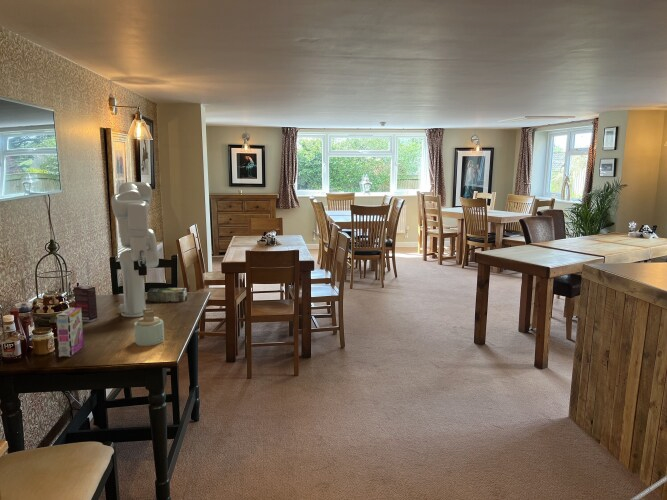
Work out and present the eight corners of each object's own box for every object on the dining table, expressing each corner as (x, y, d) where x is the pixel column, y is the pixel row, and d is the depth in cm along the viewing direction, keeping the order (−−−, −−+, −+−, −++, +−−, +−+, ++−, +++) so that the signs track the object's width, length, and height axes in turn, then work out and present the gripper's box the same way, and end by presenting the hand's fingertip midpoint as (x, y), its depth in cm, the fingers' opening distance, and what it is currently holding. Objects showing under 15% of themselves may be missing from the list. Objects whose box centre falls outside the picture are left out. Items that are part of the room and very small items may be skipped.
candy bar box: (72, 357, 181) (68, 315, 178) (58, 357, 181) (54, 315, 178) (85, 346, 192) (81, 306, 189) (71, 346, 192) (68, 306, 189)
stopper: (136, 328, 199) (135, 309, 198) (157, 325, 204) (156, 306, 202) (140, 334, 192) (139, 314, 191) (162, 330, 197) (161, 311, 195)
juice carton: (188, 296, 268) (188, 286, 267) (186, 301, 259) (186, 290, 258) (150, 298, 265) (149, 287, 264) (147, 303, 255) (146, 292, 254)
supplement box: (98, 319, 226) (95, 286, 223) (90, 322, 221) (87, 289, 219) (83, 317, 229) (81, 285, 226) (75, 320, 224) (72, 287, 222)
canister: (129, 344, 195) (128, 325, 194) (146, 335, 206) (145, 317, 204) (153, 347, 192) (152, 327, 191) (169, 337, 203) (168, 319, 202)
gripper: (124, 229, 205) (126, 268, 209) (132, 236, 191) (135, 278, 195) (143, 228, 209) (145, 267, 213) (152, 235, 195) (154, 276, 199)
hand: (140, 272), depth 204 cm, fingers open, 9 cm apart
